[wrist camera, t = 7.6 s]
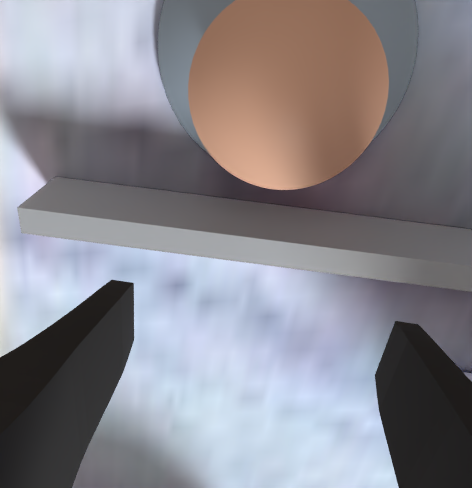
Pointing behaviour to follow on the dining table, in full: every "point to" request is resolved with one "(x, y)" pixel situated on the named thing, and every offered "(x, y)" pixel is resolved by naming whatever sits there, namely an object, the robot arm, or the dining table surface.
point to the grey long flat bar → (251, 232)
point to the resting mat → (213, 3)
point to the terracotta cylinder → (288, 90)
